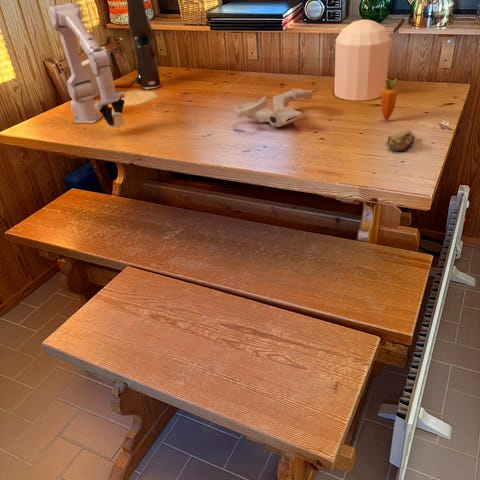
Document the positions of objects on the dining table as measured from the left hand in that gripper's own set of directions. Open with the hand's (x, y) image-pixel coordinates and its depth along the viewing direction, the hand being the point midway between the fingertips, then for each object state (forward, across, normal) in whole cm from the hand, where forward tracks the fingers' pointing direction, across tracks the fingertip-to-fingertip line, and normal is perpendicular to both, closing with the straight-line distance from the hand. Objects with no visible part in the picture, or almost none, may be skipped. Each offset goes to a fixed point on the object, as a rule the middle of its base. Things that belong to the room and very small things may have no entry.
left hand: (115, 122), depth 175 cm
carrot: (+5, +40, -92) cm, 100 cm away
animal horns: (+5, +26, -56) cm, 62 cm away
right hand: (-34, +62, -8) cm, 71 cm away
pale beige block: (+1, 0, 0) cm, 1 cm away
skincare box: (+5, +37, +45) cm, 58 cm away
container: (+5, +68, -74) cm, 101 cm away
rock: (+5, +20, -102) cm, 104 cm away
